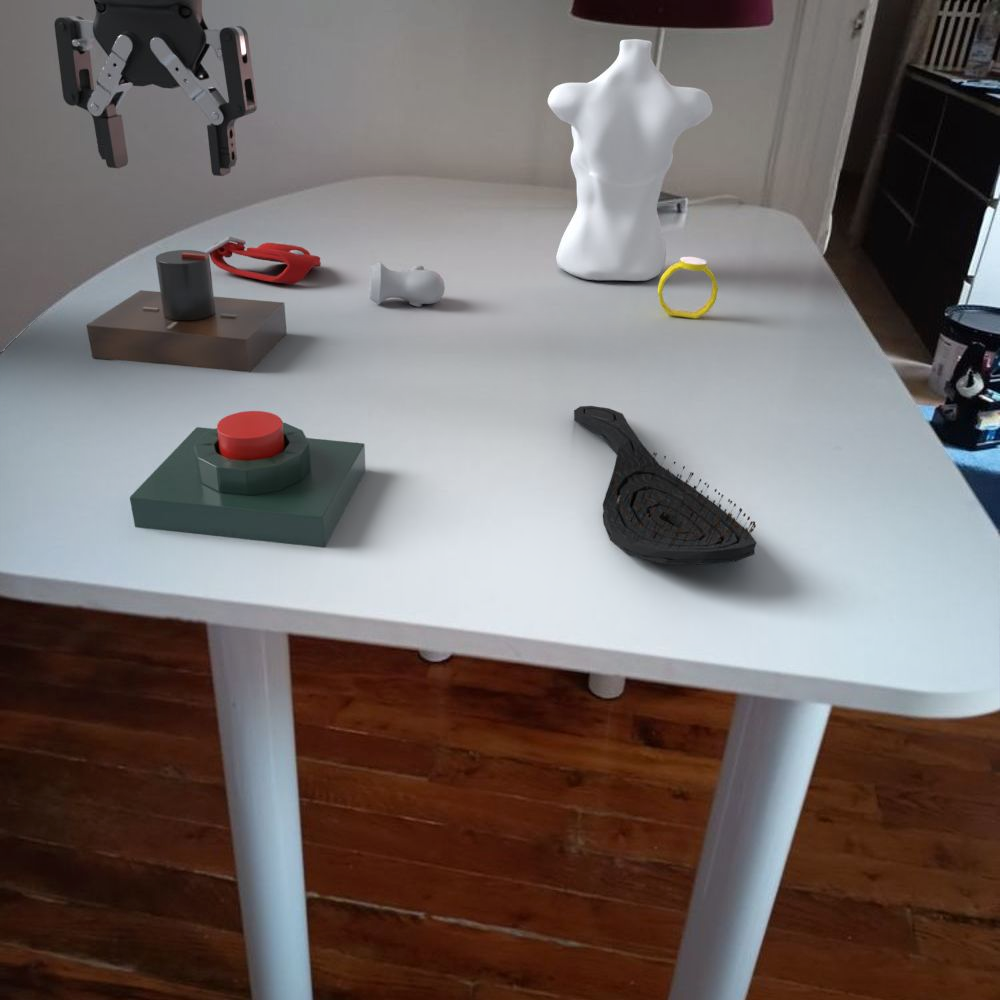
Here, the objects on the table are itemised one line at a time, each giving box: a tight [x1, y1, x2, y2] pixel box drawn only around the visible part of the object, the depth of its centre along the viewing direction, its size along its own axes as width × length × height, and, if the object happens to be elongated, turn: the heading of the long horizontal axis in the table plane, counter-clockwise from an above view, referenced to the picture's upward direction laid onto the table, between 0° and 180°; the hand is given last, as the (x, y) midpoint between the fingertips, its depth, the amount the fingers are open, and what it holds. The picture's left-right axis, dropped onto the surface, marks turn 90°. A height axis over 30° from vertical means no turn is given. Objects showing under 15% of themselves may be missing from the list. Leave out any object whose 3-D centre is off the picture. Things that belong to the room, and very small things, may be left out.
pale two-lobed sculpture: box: [368, 261, 446, 308], centre depth 95 cm, size 4×8×5 cm
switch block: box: [129, 421, 366, 548], centre depth 59 cm, size 12×10×4 cm
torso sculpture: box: [547, 38, 714, 282], centre depth 103 cm, size 18×10×25 cm, turn 95°
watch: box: [657, 256, 719, 320], centre depth 95 cm, size 6×3×6 cm, turn 86°
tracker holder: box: [203, 236, 322, 285], centre depth 101 cm, size 12×4×10 cm
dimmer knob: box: [155, 249, 215, 321], centre depth 80 cm, size 4×4×5 cm
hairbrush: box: [573, 405, 757, 565], centre depth 62 cm, size 8×4×25 cm
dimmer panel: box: [86, 289, 287, 373], centre depth 82 cm, size 14×10×3 cm
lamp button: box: [216, 410, 285, 461], centre depth 58 cm, size 4×4×2 cm
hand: (169, 170), depth 72 cm, fingers open, 8 cm apart
